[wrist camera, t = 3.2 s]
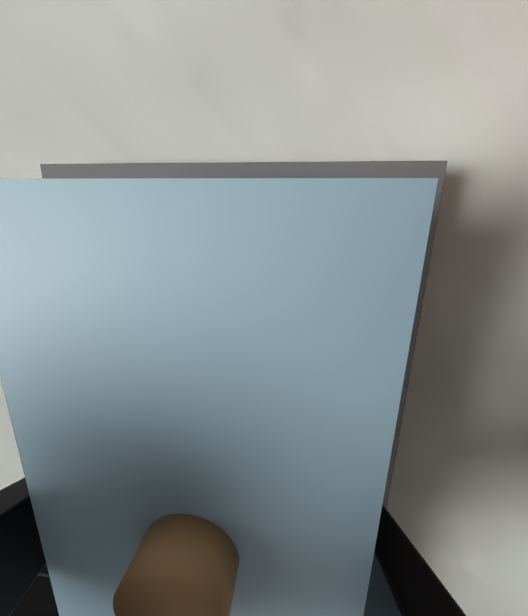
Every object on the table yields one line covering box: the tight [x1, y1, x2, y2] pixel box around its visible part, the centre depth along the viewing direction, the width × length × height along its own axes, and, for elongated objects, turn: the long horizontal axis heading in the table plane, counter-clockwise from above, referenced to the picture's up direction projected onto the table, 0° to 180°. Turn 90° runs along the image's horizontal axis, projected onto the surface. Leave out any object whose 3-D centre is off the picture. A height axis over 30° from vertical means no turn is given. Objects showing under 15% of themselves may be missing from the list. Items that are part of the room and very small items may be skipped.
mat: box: [40, 161, 447, 508], centre depth 9 cm, size 16×10×1 cm, turn 179°
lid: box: [0, 178, 438, 616], centre depth 6 cm, size 14×7×4 cm, turn 179°
